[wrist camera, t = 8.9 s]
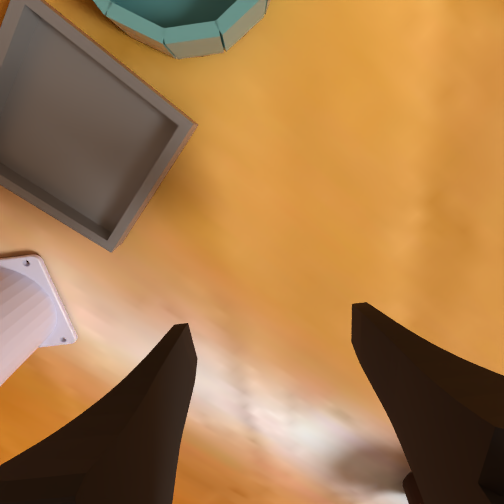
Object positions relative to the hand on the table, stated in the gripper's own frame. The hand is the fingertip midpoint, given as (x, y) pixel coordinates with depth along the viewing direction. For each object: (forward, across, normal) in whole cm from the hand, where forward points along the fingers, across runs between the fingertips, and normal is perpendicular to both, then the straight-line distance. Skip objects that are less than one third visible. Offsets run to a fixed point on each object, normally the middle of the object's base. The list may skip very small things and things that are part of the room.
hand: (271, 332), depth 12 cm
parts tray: (+9, +10, -9) cm, 16 cm away
